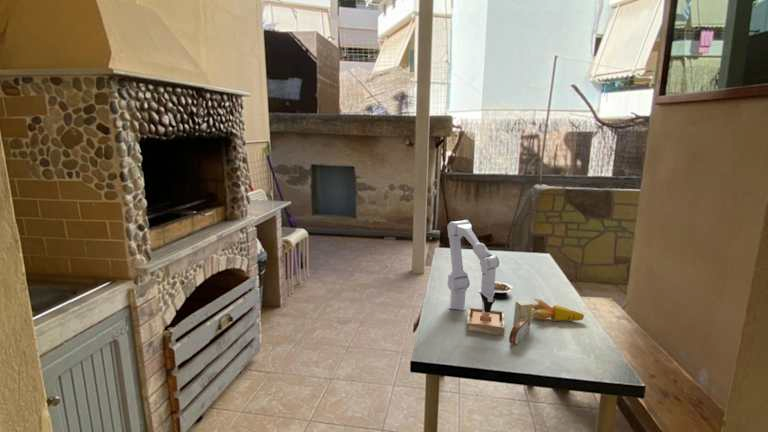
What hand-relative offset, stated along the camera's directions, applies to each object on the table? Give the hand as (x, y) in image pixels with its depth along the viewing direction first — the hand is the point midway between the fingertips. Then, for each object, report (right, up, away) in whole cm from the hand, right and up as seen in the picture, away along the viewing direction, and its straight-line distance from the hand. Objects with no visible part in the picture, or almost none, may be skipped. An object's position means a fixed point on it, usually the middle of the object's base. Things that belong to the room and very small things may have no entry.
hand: (486, 309), depth 187 cm
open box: (0, -7, +2) cm, 8 cm away
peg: (0, -2, +1) cm, 3 cm away
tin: (+11, -11, -11) cm, 19 cm away
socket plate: (0, -7, +2) cm, 8 cm away
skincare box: (+16, -8, 0) cm, 18 cm away
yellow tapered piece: (+34, -7, +7) cm, 35 cm away
